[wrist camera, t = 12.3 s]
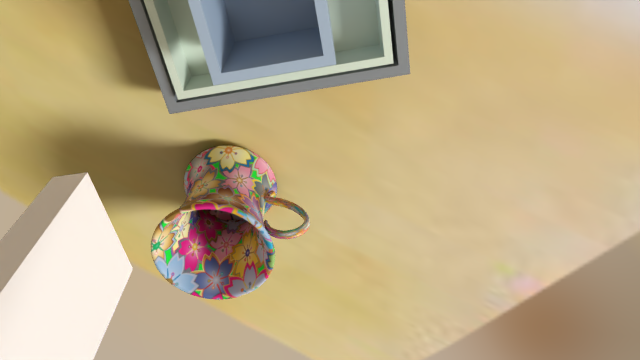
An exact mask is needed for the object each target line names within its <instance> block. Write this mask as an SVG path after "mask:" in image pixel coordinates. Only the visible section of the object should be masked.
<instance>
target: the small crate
mask: <svg viewBox="0 0 640 360" xmlns="http://www.w3.org/2000/svg"><path fill="white" fill-rule="evenodd" d="M188 3H189V6H190V9H191V13H192V16H193V19H194V22H195V26H196V29H197V32H198V36H199V39H200V42H201V46H202V49H203V52H204V56H205V59H206V62H207V66H208V69H209V72H210V76H211V79H212V82H213V85H220V84H225V83H231V82H237V81H243V80H249V79H255V78H261V77H266V76H272V75H278V74H284V73H290V72H296V71H302V70H307V69H313V68H319V67H325V66H331V65H336V57H335V49H334V41H333V34H332V27H331V20H330V14H329V8H328V1H327V0H188Z"/></svg>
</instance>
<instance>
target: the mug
mask: <svg viewBox="0 0 640 360" xmlns="http://www.w3.org/2000/svg"><path fill="white" fill-rule="evenodd" d="M184 188H185V192H186V195H187V198H186V200H185V202H184V204H183V205H182V206H181V207H180V208H179V209H177V210H175V211H173V212H172V213H170V214H169V215H167V216H166V217H165V218H164V219H163V220H162V221H161V222H160V223H159V224H158V226H157V228H156V229H155V231H154V234H153V237H152V241H151V253H152V258H153V261H154V263H155V265H156V267H157V269H158V270H159V272H160V273H161V274H162V276H163V277H164V278H165V279H166V280H167V281H168V282H170V283H171V284H172V285H174V286H175V287H177V288H178V289H180V290H182V291H184V292H186V293H189V294H191V295H194V296H198V297H202V298H207V299H230V298H236V297H240V296H243V295H245V294H248V293H250V292H252V291H254V290H255V289H257V288H258V287H259V286H261V285H262V284H263V283H264V282H265V281H266V279H267V278H268V277H269V275H270V273H271V271H272V269H273V266H274V262H275V250H274V245H273V242H272V240H271V237H270V235H271V236H273V237H275V238H279V239H291V238H295V237H298V236H301V235H302V234H304V233H305V232H306V231H307V230H308V228H309V226H310V221H309V217H308V215H307V213H306V212H305V211H304V210H303V209H302V208H301V207H299V206H298V205H296V204H295V203H292V202H290V201H288V200H284V199H280V198H276V193H277V183H276V179H275V176H274V173H273V171H272V169H271V168H270V166H269V165H268V164H267V163H266V162H265V161H264V160H263V159H262V158H261V157H260V156H258V155H257V154H255V153H254V152H252V151H250V150H247V149H244V148H241V147H236V146H217V147H213V148H210V149H207V150H205V151H203V152H201V153H200V154H198V155H197V156H196V157H195V158H194V159H193V160H192V161H191V162H190V164H189V165H188V167H187V169H186V172H185V176H184ZM272 205H277V206H281V207H285V208H288V209H290V210H293V211H294V212H296V213H298V214H299V215H300V216H301V217H302V218H303V219H304V223H303V224H302V225H301V226H300V227H298V228H296V229H293V230H288V231H280V230H276V229H273V228H271V227H270V226H269V224H268V222H267V220H265V221H264V222H263V217H264V214H265V213H266V212H267V211H268V210H269V209H270V208H271V206H272ZM264 225H265V227H264ZM269 234H270V235H269Z"/></svg>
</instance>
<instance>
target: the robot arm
mask: <svg viewBox="0 0 640 360" xmlns="http://www.w3.org/2000/svg"><path fill="white" fill-rule="evenodd" d="M132 270H133V268H132V266H131V264H130V262H129V260H128V258H127V255H126V253H125V251H124V249H123V247H122V245H121V243H120V241H119V238H118V236H117V234H116V232H115V230H114V228H113V226H112V224H111V221H110V219H109V217H108V215H107V213H106V211H105V209H104V206H103V204H102V202H101V200H100V198H99V196H98V194H97V192H96V189H95V187H94V185H93V183H92V181H91V179H90V177H89V175H88V172H86V173H79V174H71V175H64V176H57V177H52V179H51V180H50V181H49V182H48V183H47V185H46V186H45V187H44V188H43V189H42V191H41V192H40V193H39V194H38V196H37V197H36V198H35V199H34V200H33V202H32V203H31V204H30V205H29V206H28V208H27V209H26V210H25V211H24V213H23V214H22V215H21V216H20V217H19V219H18V220H17V221H16V222H15V224H14V225H13V226H12V227H11V228H10V230H9V231H8V232H7V233H6V234H5V236H4V237H3V238H2V239H1V241H0V360H93V359H94V356H95V354H96V352H97V350H98V347H99V345H100V343H101V340H102V338H103V336H104V334H105V331H106V329H107V327H108V324H109V322H110V320H111V318H112V315H113V313H114V311H115V308H116V306H117V304H118V302H119V299H120V297H121V294H122V292H123V290H124V288H125V285H126V283H127V281H128V279H129V276H130V274H131V272H132Z"/></svg>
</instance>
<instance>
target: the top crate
mask: <svg viewBox="0 0 640 360" xmlns="http://www.w3.org/2000/svg"><path fill="white" fill-rule="evenodd" d="M327 1H328V8H329V14H330V20H331V27H332V34H333V41H334V49H335V57H336V65H331V66H325V67H319V68H313V69H307V70H302V71H296V72H290V73H284V74H278V75H272V76H266V77H261V78H255V79H249V80H243V81H237V82H231V83H225V84H220V85H213V82H212V79H211V76H210V72H209V69H208V66H207V62H206V59H205V56H204V52H203V49H202V46H201V42H200V39H199V36H198V32H197V29H196V26H195V22H194V19H193V16H192V13H191V9H190V6H189V3H188V0H144V3H145V6H146V9H147V11H148V14H149V17H150V20H151V23H152V26H153V29H154V32H155V34H156V37H157V40H158V43H159V46H160V49H161V52H162V55H163V58H164V60H165V63H166V66H167V69H168V72H169V75H170V78H171V81H172V84H173V86H174V89H175V92H176V95H177V98H178V100H180V99H186V98H192V97H198V96H203V95H209V94H215V93H221V92H227V91H233V90H239V89H245V88H251V87H257V86H263V85H269V84H275V83H280V82H286V81H292V80H298V79H304V78H310V77H316V76H322V75H328V74H334V73H340V72H346V71H352V70H358V69H363V68H369V67H375V66H381V65H387V64H393V63H394V62H393V52H392V41H391V30H390V20H389V9H388V0H327Z"/></svg>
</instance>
